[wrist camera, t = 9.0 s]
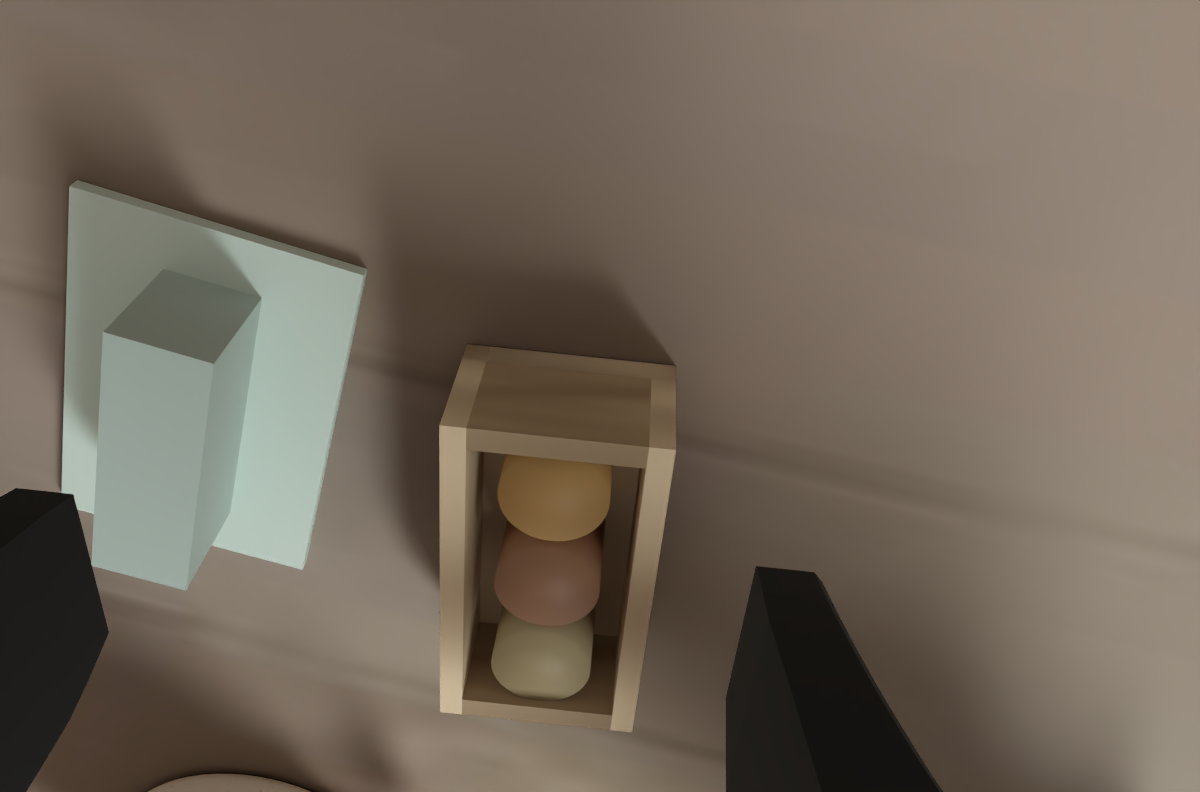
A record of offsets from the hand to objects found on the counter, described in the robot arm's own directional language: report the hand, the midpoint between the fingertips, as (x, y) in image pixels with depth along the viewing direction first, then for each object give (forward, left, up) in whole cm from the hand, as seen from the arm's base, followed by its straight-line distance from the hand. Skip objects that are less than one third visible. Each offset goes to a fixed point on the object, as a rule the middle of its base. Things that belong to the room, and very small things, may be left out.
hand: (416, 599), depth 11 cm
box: (-1, +7, -10) cm, 13 cm away
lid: (+7, +5, -11) cm, 14 cm away
